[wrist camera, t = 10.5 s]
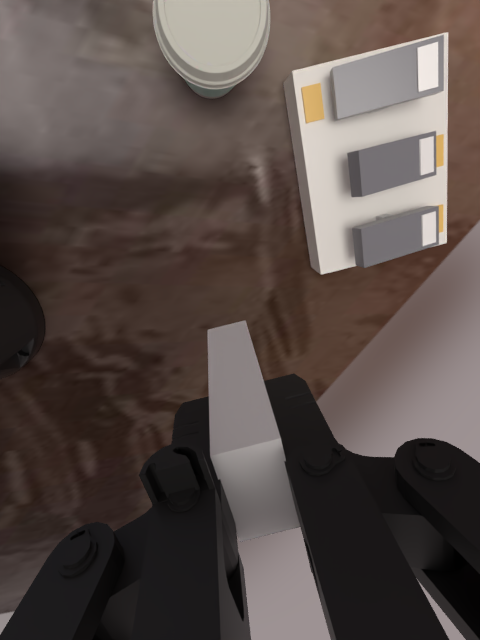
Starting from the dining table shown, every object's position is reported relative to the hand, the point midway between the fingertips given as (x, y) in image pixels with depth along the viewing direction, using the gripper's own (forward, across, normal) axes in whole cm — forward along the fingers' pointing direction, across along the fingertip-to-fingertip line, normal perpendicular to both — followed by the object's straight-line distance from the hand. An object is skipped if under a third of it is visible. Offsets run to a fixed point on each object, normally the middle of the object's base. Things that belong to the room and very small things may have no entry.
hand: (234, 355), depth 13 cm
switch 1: (+23, +18, +11) cm, 32 cm away
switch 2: (+23, +18, +4) cm, 30 cm away
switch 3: (+23, +18, -3) cm, 30 cm away
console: (+29, +18, +4) cm, 35 cm away
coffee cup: (+30, +4, +17) cm, 34 cm away
